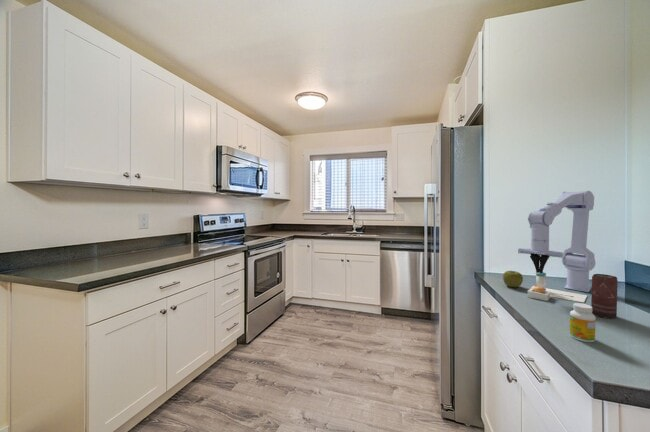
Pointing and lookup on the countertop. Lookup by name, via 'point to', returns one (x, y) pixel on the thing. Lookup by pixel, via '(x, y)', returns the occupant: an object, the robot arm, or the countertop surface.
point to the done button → (539, 289)
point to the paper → (566, 295)
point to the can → (604, 296)
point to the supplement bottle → (582, 323)
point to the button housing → (539, 295)
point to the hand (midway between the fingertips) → (539, 272)
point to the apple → (512, 278)
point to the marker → (541, 280)
